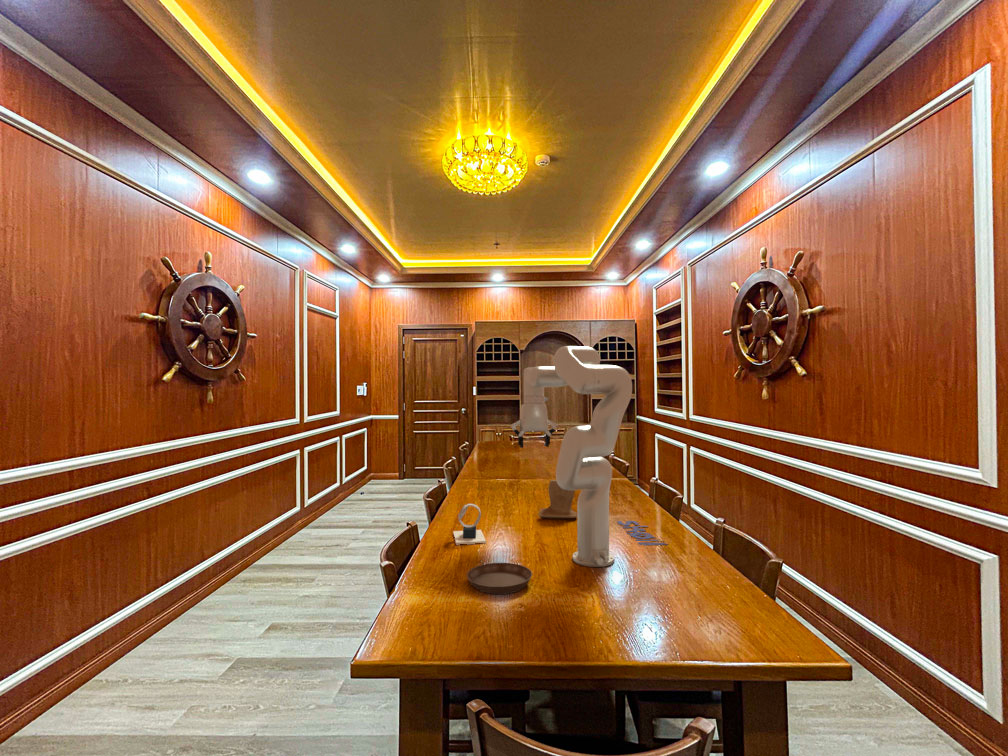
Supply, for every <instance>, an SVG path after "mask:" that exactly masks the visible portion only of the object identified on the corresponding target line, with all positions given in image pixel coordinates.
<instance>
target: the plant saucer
mask: <svg viewBox="0 0 1008 756" xmlns="http://www.w3.org/2000/svg"><path fill="white" fill-rule="evenodd" d="M532 576H533V571H532V570H531V569H530V568H528V567H526V566H524V565H522V564H518V563H512V562H490V563H485V564H481V565H476V566H474V567H473V568H471V569H469V570H468V572H467V573H466V578H467V580H468V581H469V583H470V584H471V585H472V586H473V588H475V589H476V590H478V591H479V590H480V591H479V592H482V593H485V592H486V593H487V594H490V593H492V595H504V594H506V593H507V594H511V593H515V592H518V591H520V590H522V589H523V588H525V587H526V585H527V584H528V583H530V580H531V578H532Z"/></svg>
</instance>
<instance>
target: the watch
mask: <svg viewBox="0 0 1008 756" xmlns="http://www.w3.org/2000/svg"><path fill="white" fill-rule="evenodd" d="M469 507H473V508H475V509H476V510H478V517H477V519H476V520H475V522H474V524H465V523H464V522H463V521H462V519H463V517H464V516H465V515H466V512H467V510H468V508H469ZM481 513H482V512H481V509H480V507H479V506H478V505H477V504H474V503H467V504H464V505H463V506H462V507H461V510H460V511H459V513H458V515H457V518H458V521H459V522H458V523H460V525H461V526H462V527H463V528H462V531H463V539H470V538H476V530H477V525H478V524H479V522H480V519H481V515H482V514H481Z"/></svg>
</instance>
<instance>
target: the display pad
mask: <svg viewBox="0 0 1008 756" xmlns="http://www.w3.org/2000/svg"><path fill="white" fill-rule="evenodd" d="M452 534H453V537H455V538H454V541H455V544H456V546H461V545H460V544H467V545H476V544H475V543H483V544H487V541H486V538H485V536H484V534H483V531H482V529H476V538H470V539H463V530H455V531H454V530H453V532H452Z"/></svg>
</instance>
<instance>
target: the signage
mask: <svg viewBox="0 0 1008 756" xmlns="http://www.w3.org/2000/svg"><path fill="white" fill-rule="evenodd" d="M616 522H617V525H619V524H620V526H621V525H624V526H622V527H623V528H622V529H631V530H630V531H629V530H626V531H627V532H633V533H627V532H626V534H627V535H628V534H630V535H629V536H630V538H632V537H634V538H633V539H635V538H637V539H635V540H636V541H659V540H662V539H657V538H656V537H655V536H653V534H651V533H650V532H649V533H648V532H646V531H647V530H646V528H639V527H648V526H647V525H640V522H637V521H636V520H626V521H625V523H623V520H617V521H616ZM630 524H631V525H632V524H635V525H639V526H635V525H632V526H633V527H629V525H630ZM631 525H630V526H631ZM632 528H633V529H632ZM637 531H639V532H637ZM641 534H644V535H641ZM646 535H647V536H646ZM640 536H645V537H640ZM649 538H651V539H649ZM655 538H656V539H655ZM641 539H647V540H641ZM636 541H635V542H636ZM665 543H666V542H637V544H638V545H639V546H640V545H642V544H643V546H669V543H666V544H665Z"/></svg>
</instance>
